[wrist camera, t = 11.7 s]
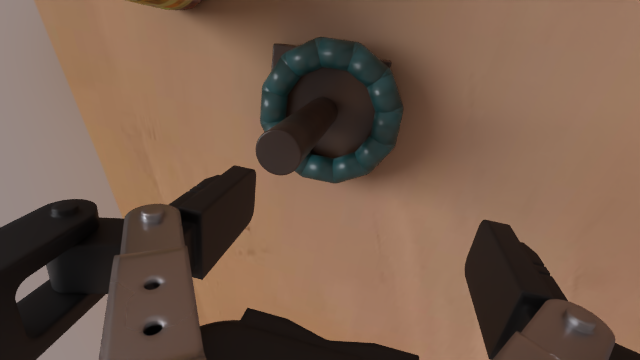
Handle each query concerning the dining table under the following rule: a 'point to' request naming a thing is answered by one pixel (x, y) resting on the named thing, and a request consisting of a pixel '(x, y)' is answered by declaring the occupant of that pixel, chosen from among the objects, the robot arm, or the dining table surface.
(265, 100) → the ring
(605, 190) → the dining table surface
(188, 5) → the sauce bottle
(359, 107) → the peg stand
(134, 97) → the dining table surface
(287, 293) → the dining table surface
